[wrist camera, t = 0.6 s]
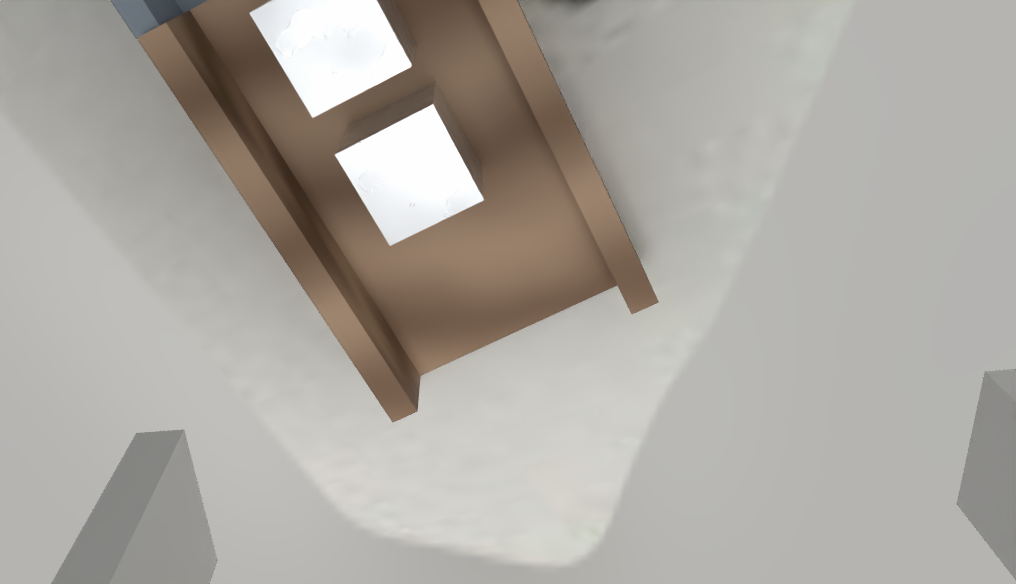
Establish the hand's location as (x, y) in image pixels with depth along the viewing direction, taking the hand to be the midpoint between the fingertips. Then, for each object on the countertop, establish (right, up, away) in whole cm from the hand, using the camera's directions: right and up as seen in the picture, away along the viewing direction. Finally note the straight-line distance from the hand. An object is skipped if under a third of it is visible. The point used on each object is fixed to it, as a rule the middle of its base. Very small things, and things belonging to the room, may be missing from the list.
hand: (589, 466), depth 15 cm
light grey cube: (-5, +9, +21) cm, 24 cm away
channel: (-5, +9, +23) cm, 25 cm away
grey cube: (-8, +13, +19) cm, 24 cm away
